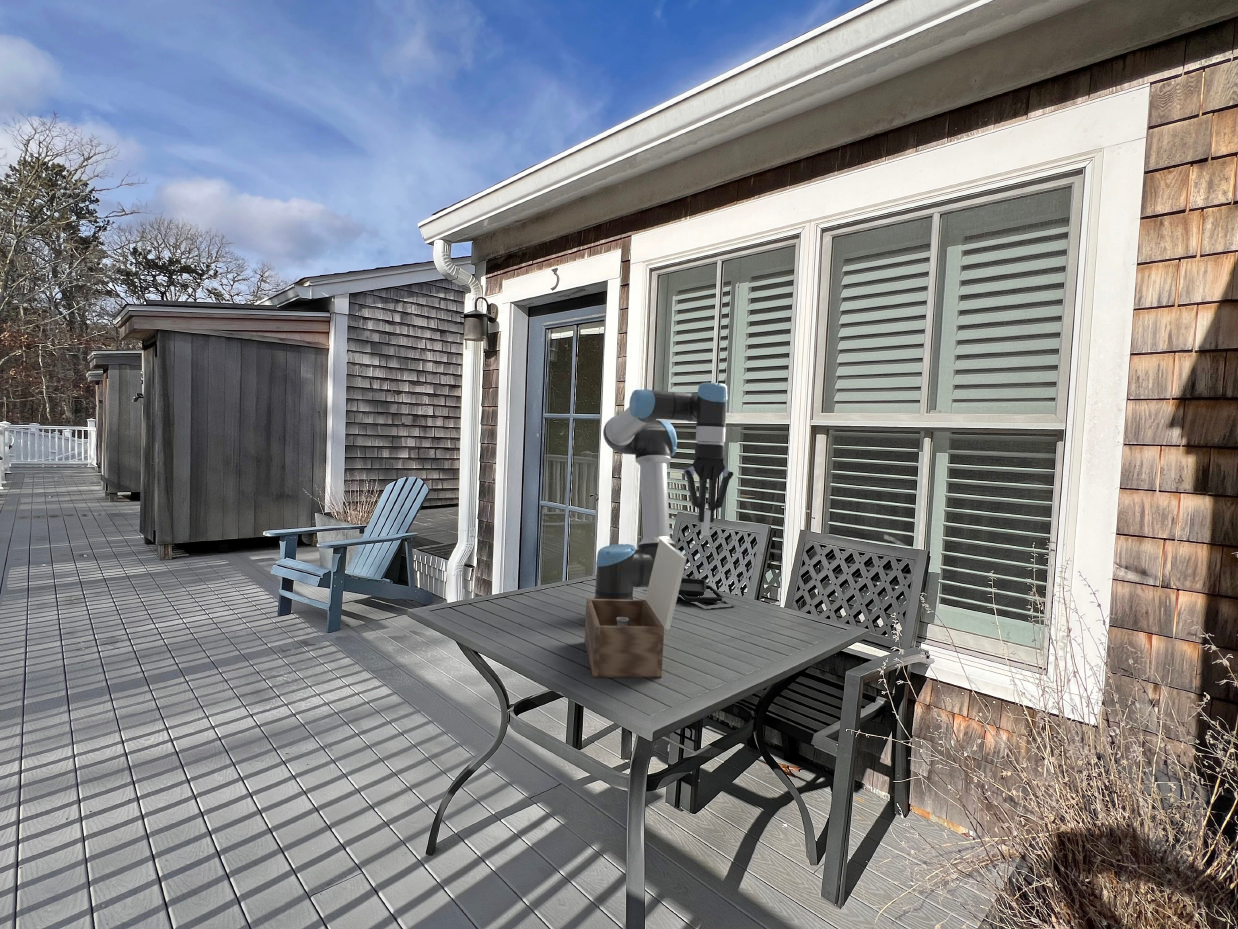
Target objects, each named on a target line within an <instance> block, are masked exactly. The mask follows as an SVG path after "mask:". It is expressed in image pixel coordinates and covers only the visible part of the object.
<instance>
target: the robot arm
mask: <svg viewBox="0 0 1238 929" xmlns="http://www.w3.org/2000/svg"><path fill="white" fill-rule="evenodd" d="M728 399H729V398H728V386H727V385H726V384H724V383H718V382H701V383H700V384H699V385H698V389H697V393H696V392H681V391H680V392H679V391H668V390H667V391H666V390H653V389H646V388H645V389H634V390H633V391H632V392H631V396H630V398H629V404H628V405H629V406H628V407H626V409H625V410H624V411H622V412H621V413H620V414H619V415H614V416H612V417H611V418H610V419H609V420H607V421H606V423H604V424H605V425H604V427H603V431H602V432H603V440H604V441H605V443H606V444H607V446H608V447H609V448H611V449H612V450H613V451H615V452H617V453H620V454H624V455H634V456H635V457H634V458H635V462H636V463H637V464H638V465H639V467H640V468H639V469H640V491H641V494H640V495H641V520H642V540H641V541H639V543H638V545H637V546H638V549H636V546H635V545H633V544H628V543H627V544H626V543H625V544H623V543H619V544H617V543H616V544H610V545H606V546H603V547H600V549H599V550H598V552H597V555H596V562H595V568H596V569H595V570H596V571H595V587H594V588H595V589H594V590H595V591H594V597H593V599H618V600H634V598H633V597H634V596H633V593H634V588H648V586H649V582H650V578H651V573H652V569H653V565H654V561H655V557H656V552H657V548H658V544H659V540H660V539H663V540H665V541H666V542H667V543H669V544H670V545H671V546H672V547H673V548H675V549H676V550H677V551H678V552H680V553H681V554H682V551H681V550H679V549H677V548H676V543H675V542H674V541H673V540H672V539H671V535H670V534H671V533H670V532H671V530H670V512H669V509H670V508H669V507H670V506H669V488H668V487H669V485H668V483H669V482H668V464H669V463H670V462H671V461H672V457H674V455H675V454H676V452H677V446H678V438H677V432H676V429H675V428H674V426H673V425H672V423H671V422H669V421H670V420H671V421H684V422H689V423H691V422H693V423H695V426H696V428H695V439H694V440H695V442H697V443H696V444H695V445H694V458H693V459H694V460H693V462H692V465H691V466H689V467H688V468H686V469H683V474H684V476H685V478H686V481H687V487H688V490H689V491H688V492H689V497H690V503H691V506H692V507H694V508H697V510H698V514H697V515H698V516H697V520H698V521H697V522H699V523H701V525H700V526H701V527H700V535H702V536H704V537H709V536H710V528H711V523H714V521H715V511H716V510H717V509H721V508H722V507H723V504H724V500H725V496H726V494H727V489H728V486H729V483H730V480H731V479H732V477H733V476H734V472H733V471H730V470H729V469H727V468H726V464H725V446H724V445H723V444H724V443H725V442H726V423H727V411H728ZM666 420H667V421H666ZM668 420H669V421H668ZM695 474H696V475H697V477H698V478H699V479H698V482H699V485H698V495H697V488H696V484H695V483H696V482H695V478H694V476H695ZM721 474H722V479H721V481H720V485H719V488H718V492H717V483H718V478H719V477H721V476H720V475H721ZM707 484H708V498H707ZM716 493H717V494H716ZM706 499H707V509H706ZM682 555H683V554H682Z"/></svg>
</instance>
